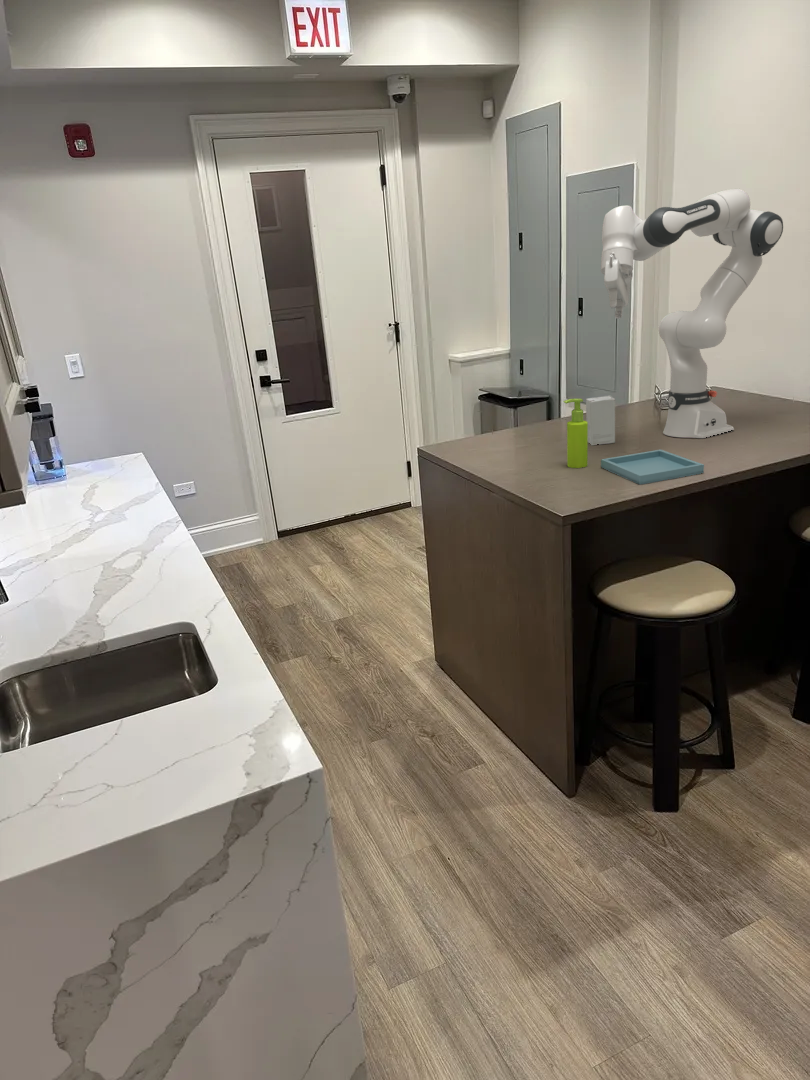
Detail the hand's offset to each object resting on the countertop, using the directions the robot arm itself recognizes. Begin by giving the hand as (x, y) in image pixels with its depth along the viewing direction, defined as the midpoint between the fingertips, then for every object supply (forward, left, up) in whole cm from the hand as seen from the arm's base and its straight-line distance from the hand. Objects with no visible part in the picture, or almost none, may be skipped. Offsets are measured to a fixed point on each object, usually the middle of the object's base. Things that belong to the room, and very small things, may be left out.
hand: (615, 312), depth 209 cm
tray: (-2, +17, -43) cm, 46 cm away
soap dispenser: (+13, +1, -43) cm, 45 cm away
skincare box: (-7, -19, -43) cm, 48 cm away
